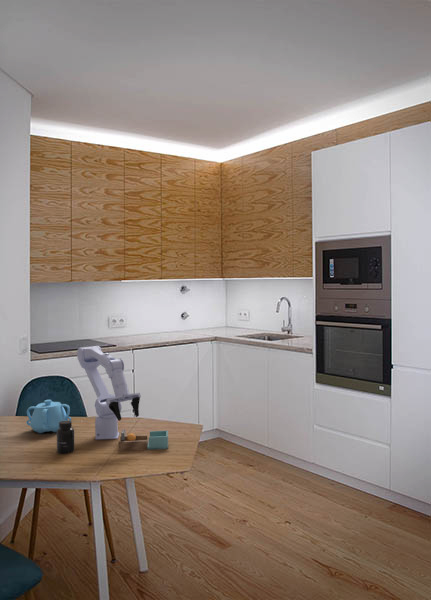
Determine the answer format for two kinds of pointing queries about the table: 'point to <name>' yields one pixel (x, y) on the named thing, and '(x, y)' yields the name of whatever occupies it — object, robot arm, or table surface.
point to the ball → (131, 437)
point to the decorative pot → (47, 416)
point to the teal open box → (158, 440)
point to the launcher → (134, 443)
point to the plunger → (123, 435)
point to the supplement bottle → (65, 438)
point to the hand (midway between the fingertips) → (128, 418)
